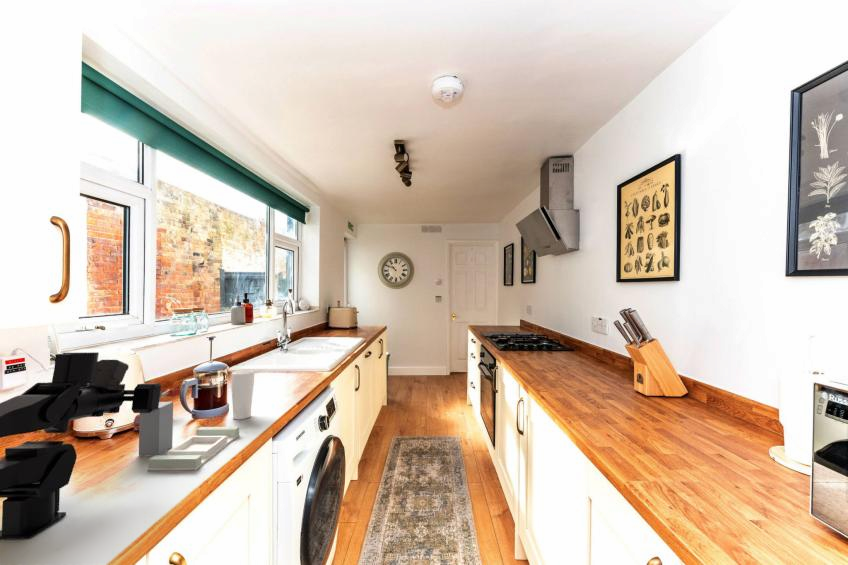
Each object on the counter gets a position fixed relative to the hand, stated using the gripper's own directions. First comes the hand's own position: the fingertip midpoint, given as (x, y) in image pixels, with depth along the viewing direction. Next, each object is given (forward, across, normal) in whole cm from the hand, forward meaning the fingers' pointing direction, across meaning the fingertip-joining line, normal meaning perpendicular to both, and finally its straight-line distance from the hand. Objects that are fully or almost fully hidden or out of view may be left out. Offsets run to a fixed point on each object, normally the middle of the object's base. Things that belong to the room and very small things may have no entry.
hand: (142, 393), depth 88 cm
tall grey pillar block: (+7, 0, +15) cm, 17 cm away
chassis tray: (+7, -11, +15) cm, 20 cm away
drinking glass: (+32, -10, +12) cm, 36 cm away
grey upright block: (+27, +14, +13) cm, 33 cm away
